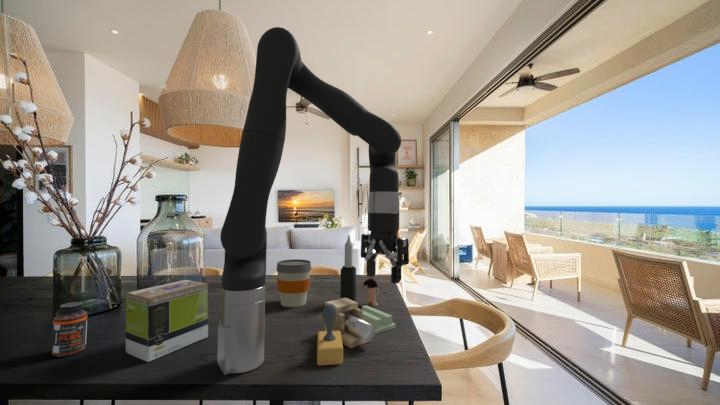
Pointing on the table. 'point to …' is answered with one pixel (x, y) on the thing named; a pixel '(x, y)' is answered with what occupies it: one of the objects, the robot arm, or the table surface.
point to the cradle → (377, 319)
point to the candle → (348, 274)
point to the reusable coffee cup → (293, 281)
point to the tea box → (165, 318)
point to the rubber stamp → (329, 340)
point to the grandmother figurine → (371, 291)
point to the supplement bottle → (69, 330)
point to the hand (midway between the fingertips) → (382, 279)
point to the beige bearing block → (339, 324)
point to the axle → (359, 327)
